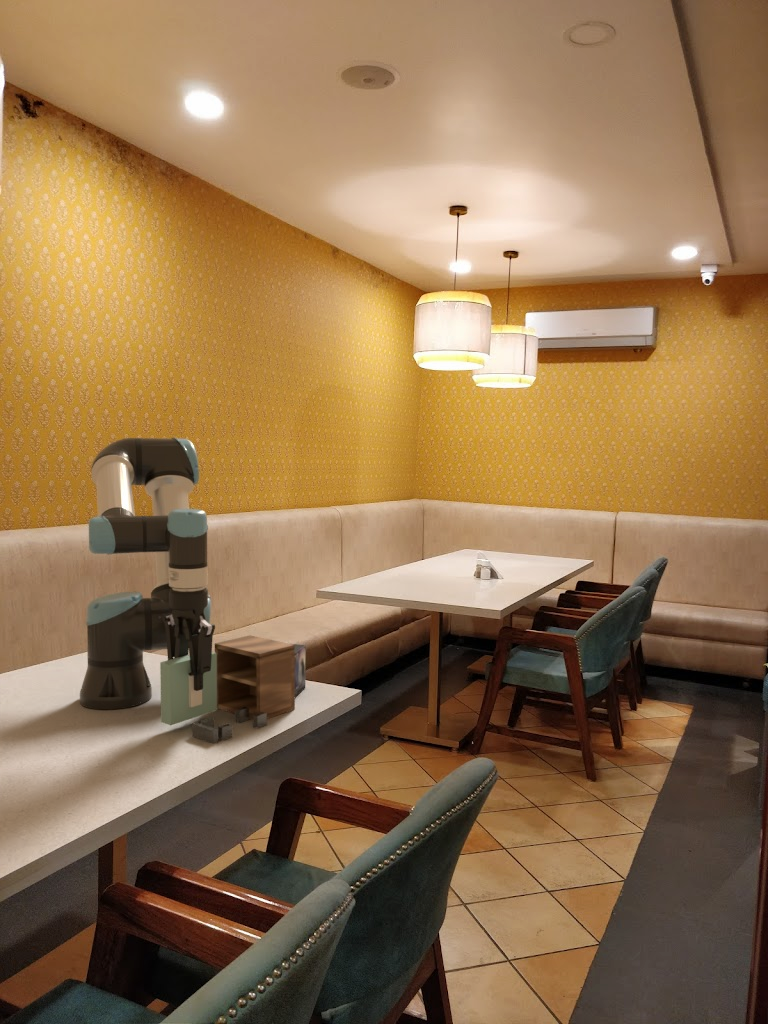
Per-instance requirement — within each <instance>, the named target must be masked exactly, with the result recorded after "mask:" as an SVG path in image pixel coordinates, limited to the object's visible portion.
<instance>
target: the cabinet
mask: <svg viewBox="0 0 768 1024" xmlns="http://www.w3.org/2000/svg"><path fill="white" fill-rule="evenodd" d="M293 644H294V643H289V642H288V643H287V642H284V641H278V640H273V639H268V638H264V637H261V636H255V635H251V634H249V635H246V636H241V637H237V638H232V639H228V640H223V641H219V642H215V643H214V652H215V653H217V710H222V711H225V712H228V713H231V714H235V715H236V709H239V708H242V707H248V708H249V719H251V720H253V715H254V714H257V713H260V712H265V713H267V720H268V719H271V718H274V717H277V716H279V715H282V714H283V715H284V714H285V713H289V712H292V711H294V710H295V709H296V707H295V706H296V697H295V645H293Z"/></svg>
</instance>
